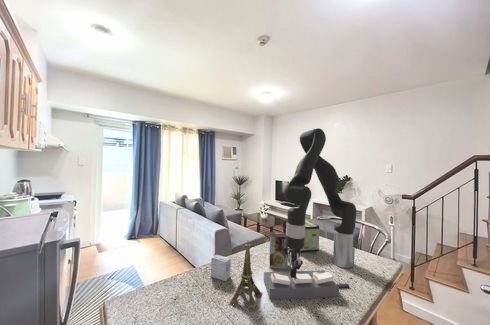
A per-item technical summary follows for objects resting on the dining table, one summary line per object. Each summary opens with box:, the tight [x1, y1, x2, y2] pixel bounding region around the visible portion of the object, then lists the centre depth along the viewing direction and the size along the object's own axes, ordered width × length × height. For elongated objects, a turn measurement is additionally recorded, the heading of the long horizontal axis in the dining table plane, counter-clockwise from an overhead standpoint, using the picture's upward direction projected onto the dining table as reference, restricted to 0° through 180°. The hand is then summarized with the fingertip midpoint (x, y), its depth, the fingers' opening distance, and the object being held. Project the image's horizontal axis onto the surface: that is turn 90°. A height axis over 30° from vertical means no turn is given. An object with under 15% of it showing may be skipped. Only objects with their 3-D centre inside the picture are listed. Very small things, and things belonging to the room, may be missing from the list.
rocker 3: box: [313, 271, 334, 284], centre depth 84 cm, size 7×4×2 cm, turn 96°
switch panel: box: [263, 270, 350, 300], centre depth 86 cm, size 36×12×5 cm, turn 96°
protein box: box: [300, 220, 320, 254], centre depth 125 cm, size 10×16×16 cm
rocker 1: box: [271, 273, 290, 285], centre depth 82 cm, size 7×4×2 cm, turn 96°
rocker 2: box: [292, 274, 312, 283], centre depth 83 cm, size 7×4×2 cm, turn 96°
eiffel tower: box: [228, 241, 263, 313], centre depth 78 cm, size 11×11×25 cm
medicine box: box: [210, 254, 232, 282], centre depth 92 cm, size 8×4×9 cm, turn 65°
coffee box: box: [268, 231, 289, 270], centre depth 104 cm, size 9×6×16 cm
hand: (292, 276), depth 82 cm, fingers closed
